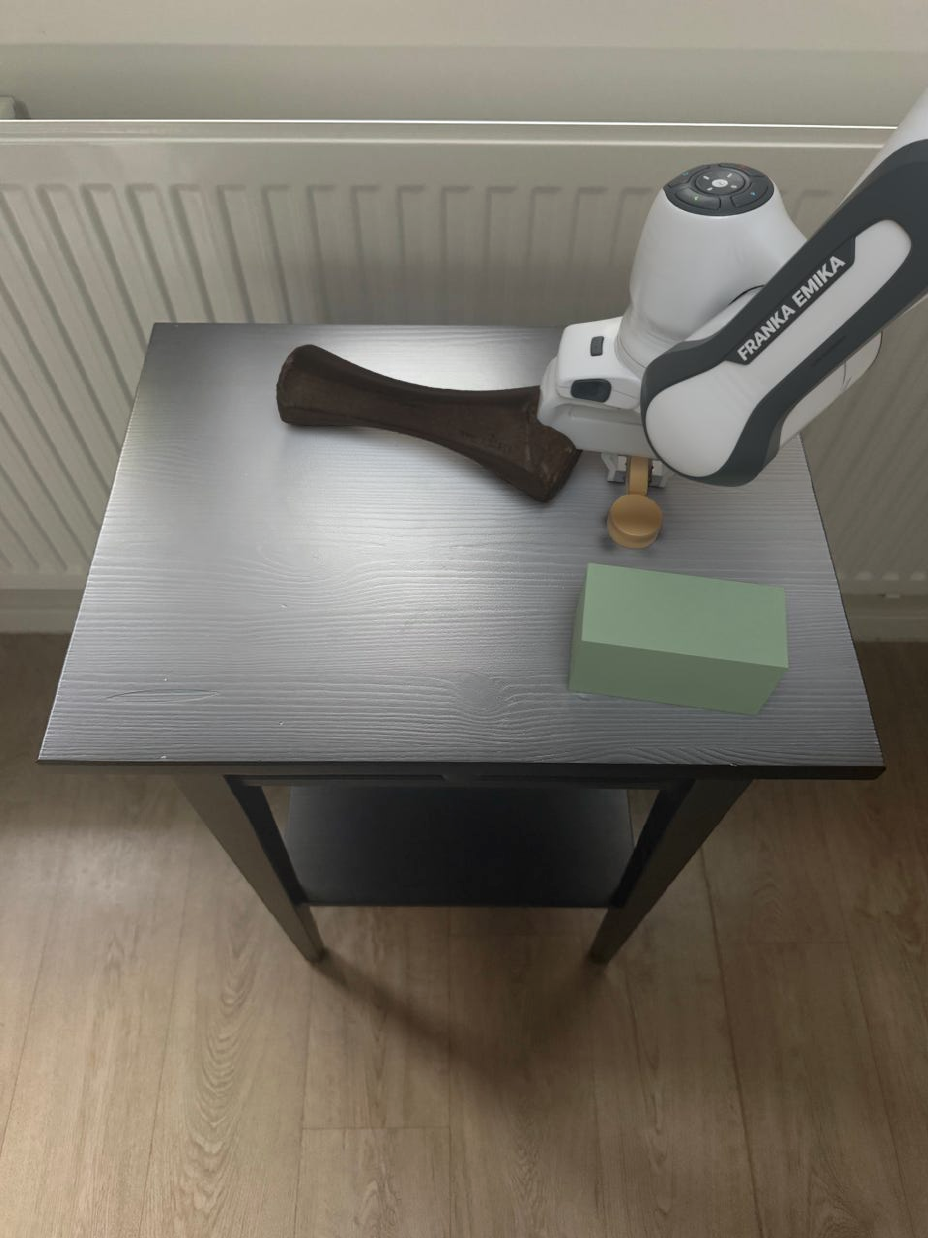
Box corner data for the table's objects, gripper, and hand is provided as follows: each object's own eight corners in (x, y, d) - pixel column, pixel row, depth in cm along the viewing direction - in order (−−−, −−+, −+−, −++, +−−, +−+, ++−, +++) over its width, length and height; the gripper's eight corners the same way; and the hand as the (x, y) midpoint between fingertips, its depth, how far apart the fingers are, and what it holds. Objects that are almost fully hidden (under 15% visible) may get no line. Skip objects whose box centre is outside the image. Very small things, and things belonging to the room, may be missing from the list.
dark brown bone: (585, 482, 89) (313, 437, 95) (600, 371, 84) (311, 331, 90) (561, 524, 80) (262, 471, 86) (576, 402, 75) (257, 356, 81)
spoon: (613, 431, 90) (617, 413, 88) (661, 437, 90) (666, 419, 88) (605, 545, 83) (609, 529, 81) (657, 552, 83) (662, 535, 81)
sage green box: (754, 640, 78) (784, 587, 71) (756, 716, 74) (788, 667, 68) (574, 616, 79) (587, 562, 72) (567, 690, 75) (581, 640, 68)
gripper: (797, 353, 76) (748, 466, 88) (545, 323, 77) (530, 439, 89) (801, 410, 73) (750, 520, 84) (538, 378, 74) (523, 491, 85)
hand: (635, 478), depth 86 cm, fingers closed
